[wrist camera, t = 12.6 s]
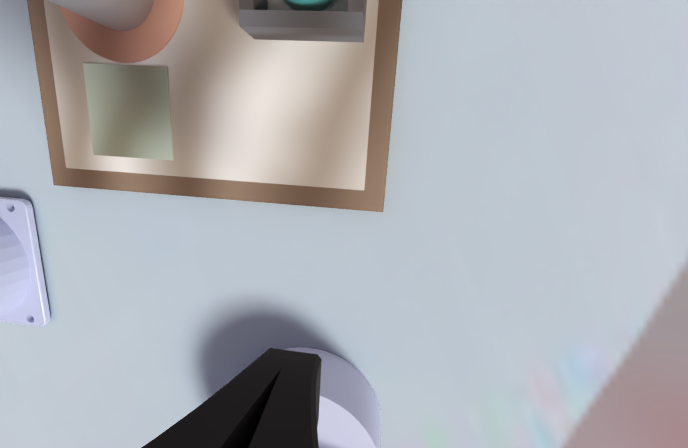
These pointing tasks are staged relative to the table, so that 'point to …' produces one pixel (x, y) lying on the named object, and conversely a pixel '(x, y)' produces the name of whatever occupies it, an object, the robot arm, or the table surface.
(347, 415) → the wedge on round base
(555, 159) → the table surface
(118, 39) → the beige base plate
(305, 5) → the button
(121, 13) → the capsule peg
